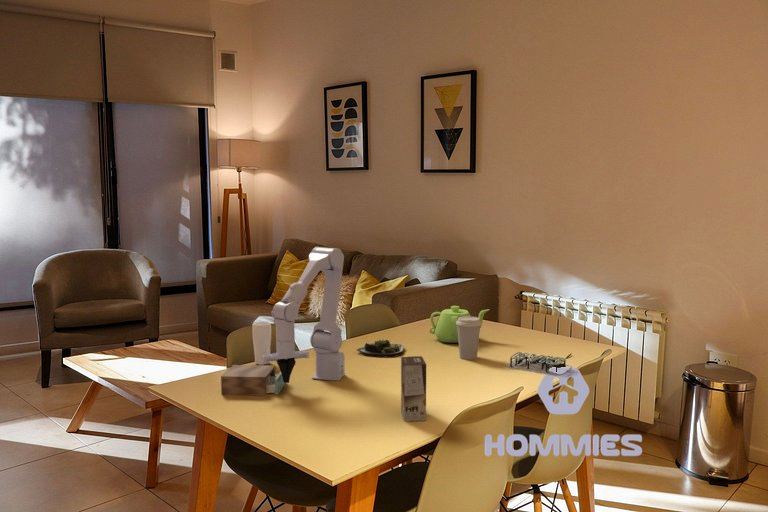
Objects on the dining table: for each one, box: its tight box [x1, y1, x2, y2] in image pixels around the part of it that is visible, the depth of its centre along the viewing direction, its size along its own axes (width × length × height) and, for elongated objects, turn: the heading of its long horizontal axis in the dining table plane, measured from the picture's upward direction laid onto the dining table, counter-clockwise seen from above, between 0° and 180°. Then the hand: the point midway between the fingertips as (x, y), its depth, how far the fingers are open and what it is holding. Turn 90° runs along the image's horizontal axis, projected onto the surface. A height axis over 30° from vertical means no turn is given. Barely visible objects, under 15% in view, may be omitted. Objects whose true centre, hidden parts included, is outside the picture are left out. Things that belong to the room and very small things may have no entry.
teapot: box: [428, 305, 490, 344], centre depth 275 cm, size 19×20×14 cm
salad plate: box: [356, 339, 405, 358], centre depth 258 cm, size 19×18×5 cm
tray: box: [266, 371, 286, 395], centre depth 210 cm, size 14×13×5 cm
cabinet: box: [220, 364, 276, 396], centre depth 210 cm, size 14×13×6 cm
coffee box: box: [400, 355, 427, 422], centre depth 185 cm, size 9×6×16 cm
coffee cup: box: [456, 315, 483, 361], centre depth 247 cm, size 10×10×15 cm
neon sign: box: [505, 351, 572, 376], centre depth 241 cm, size 21×4×29 cm
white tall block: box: [251, 321, 272, 365], centre depth 239 cm, size 7×7×15 cm
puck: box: [266, 375, 270, 385], centre depth 210 cm, size 5×5×4 cm
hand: (286, 382), depth 208 cm, fingers closed
